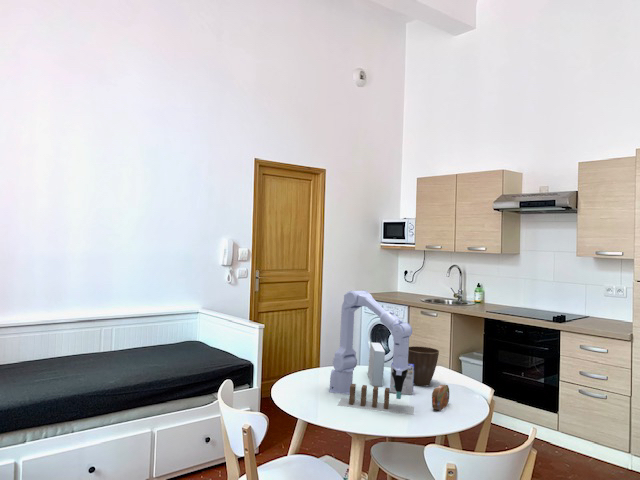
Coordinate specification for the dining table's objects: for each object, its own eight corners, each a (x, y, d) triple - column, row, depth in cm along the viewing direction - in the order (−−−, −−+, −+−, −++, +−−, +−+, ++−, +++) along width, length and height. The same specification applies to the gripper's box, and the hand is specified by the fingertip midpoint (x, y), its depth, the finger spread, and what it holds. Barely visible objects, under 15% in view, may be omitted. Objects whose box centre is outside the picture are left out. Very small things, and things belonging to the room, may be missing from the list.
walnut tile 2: (360, 405, 191) (361, 387, 191) (362, 402, 195) (362, 384, 195) (364, 406, 191) (365, 388, 191) (366, 403, 195) (366, 385, 195)
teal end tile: (396, 398, 188) (397, 380, 188) (397, 395, 192) (397, 377, 192) (400, 399, 188) (401, 380, 188) (401, 395, 192) (402, 377, 192)
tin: (437, 413, 188) (438, 391, 188) (429, 411, 190) (430, 389, 190) (449, 403, 201) (450, 383, 201) (442, 402, 203) (443, 381, 203)
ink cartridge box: (413, 391, 215) (414, 358, 215) (412, 395, 210) (414, 361, 210) (390, 389, 217) (392, 356, 217) (389, 392, 212) (391, 359, 212)
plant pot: (399, 379, 234) (401, 346, 234) (428, 379, 237) (430, 346, 237) (412, 389, 219) (414, 353, 219) (443, 388, 223) (445, 353, 223)
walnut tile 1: (349, 404, 192) (349, 386, 192) (350, 401, 196) (351, 383, 196) (353, 405, 192) (354, 387, 192) (354, 401, 196) (355, 384, 196)
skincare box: (383, 387, 220) (385, 351, 221) (371, 386, 220) (373, 350, 221) (378, 374, 241) (380, 342, 242) (367, 374, 242) (369, 341, 242)
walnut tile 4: (383, 408, 189) (384, 390, 189) (384, 405, 193) (385, 387, 193) (387, 409, 189) (388, 391, 189) (388, 405, 193) (389, 387, 193)
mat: (337, 406, 190) (337, 405, 190) (341, 398, 200) (341, 397, 200) (413, 415, 184) (413, 414, 184) (414, 407, 194) (414, 406, 194)
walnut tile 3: (372, 407, 190) (372, 389, 190) (373, 403, 194) (374, 386, 194) (376, 407, 190) (377, 389, 190) (377, 404, 194) (378, 386, 194)
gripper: (410, 359, 182) (408, 396, 182) (411, 351, 196) (410, 385, 196) (391, 357, 184) (389, 394, 184) (394, 350, 198) (392, 383, 198)
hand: (399, 389), depth 190 cm, fingers closed on teal end tile, 4 cm apart
